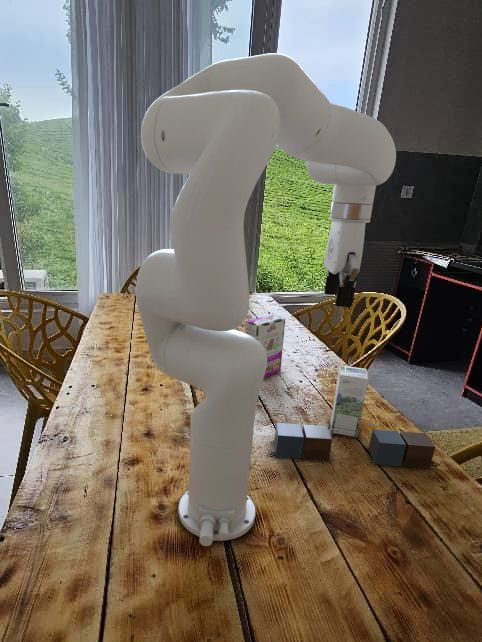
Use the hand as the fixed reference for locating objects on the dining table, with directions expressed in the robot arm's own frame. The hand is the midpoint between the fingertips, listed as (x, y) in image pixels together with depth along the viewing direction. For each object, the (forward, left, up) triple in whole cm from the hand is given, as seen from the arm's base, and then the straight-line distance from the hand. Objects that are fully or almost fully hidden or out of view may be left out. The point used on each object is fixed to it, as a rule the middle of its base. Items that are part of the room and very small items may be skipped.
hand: (337, 300), depth 91 cm
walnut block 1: (-13, +3, -29) cm, 32 cm away
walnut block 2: (-13, -16, -29) cm, 36 cm away
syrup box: (-3, -5, -29) cm, 30 cm away
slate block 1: (-13, +9, -29) cm, 33 cm away
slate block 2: (-13, -11, -29) cm, 33 cm away
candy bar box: (+25, +12, -29) cm, 40 cm away
